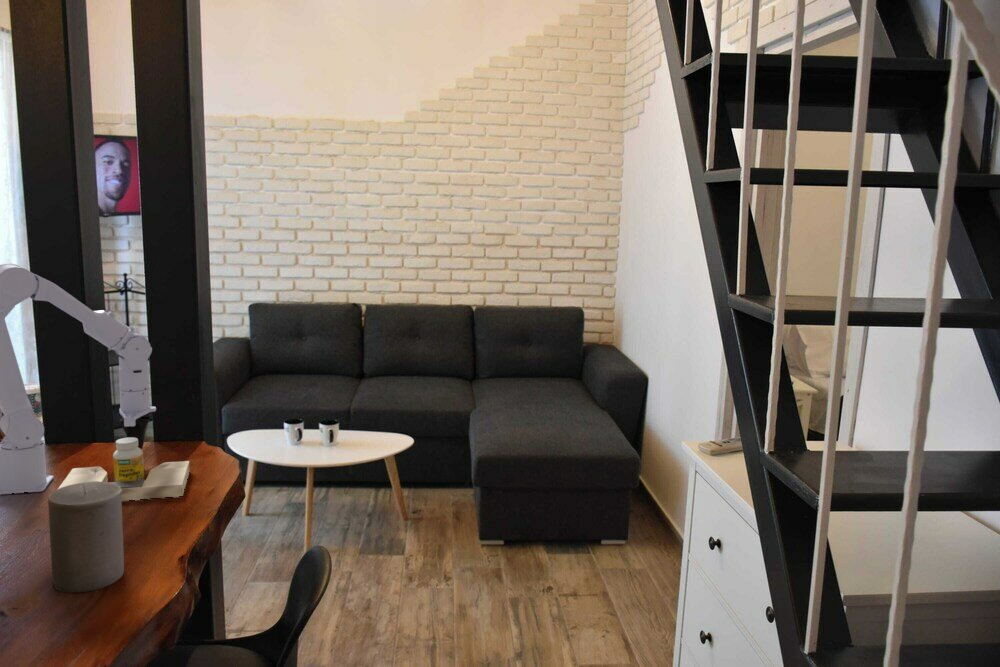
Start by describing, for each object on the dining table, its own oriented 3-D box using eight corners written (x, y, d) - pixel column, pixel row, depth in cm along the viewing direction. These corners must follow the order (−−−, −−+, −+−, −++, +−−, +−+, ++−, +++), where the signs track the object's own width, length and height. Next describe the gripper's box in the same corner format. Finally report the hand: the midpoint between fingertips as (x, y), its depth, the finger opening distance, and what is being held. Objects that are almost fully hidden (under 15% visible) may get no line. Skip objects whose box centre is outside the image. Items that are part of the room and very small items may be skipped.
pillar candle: (47, 598, 104) (41, 500, 102) (57, 567, 113) (52, 476, 110) (122, 587, 108) (119, 492, 105) (127, 558, 117) (124, 469, 114)
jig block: (54, 506, 135) (53, 493, 134) (73, 479, 148) (72, 467, 147) (182, 496, 142) (182, 483, 141) (189, 472, 155) (189, 460, 154)
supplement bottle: (143, 478, 150) (140, 434, 148) (146, 487, 145) (143, 442, 144) (114, 483, 147) (111, 438, 145) (115, 492, 143) (112, 445, 141)
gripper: (149, 396, 149) (152, 459, 151) (159, 380, 163) (161, 438, 165) (111, 397, 147) (114, 461, 149) (125, 381, 160) (127, 439, 163)
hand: (136, 449), depth 157 cm, fingers closed
